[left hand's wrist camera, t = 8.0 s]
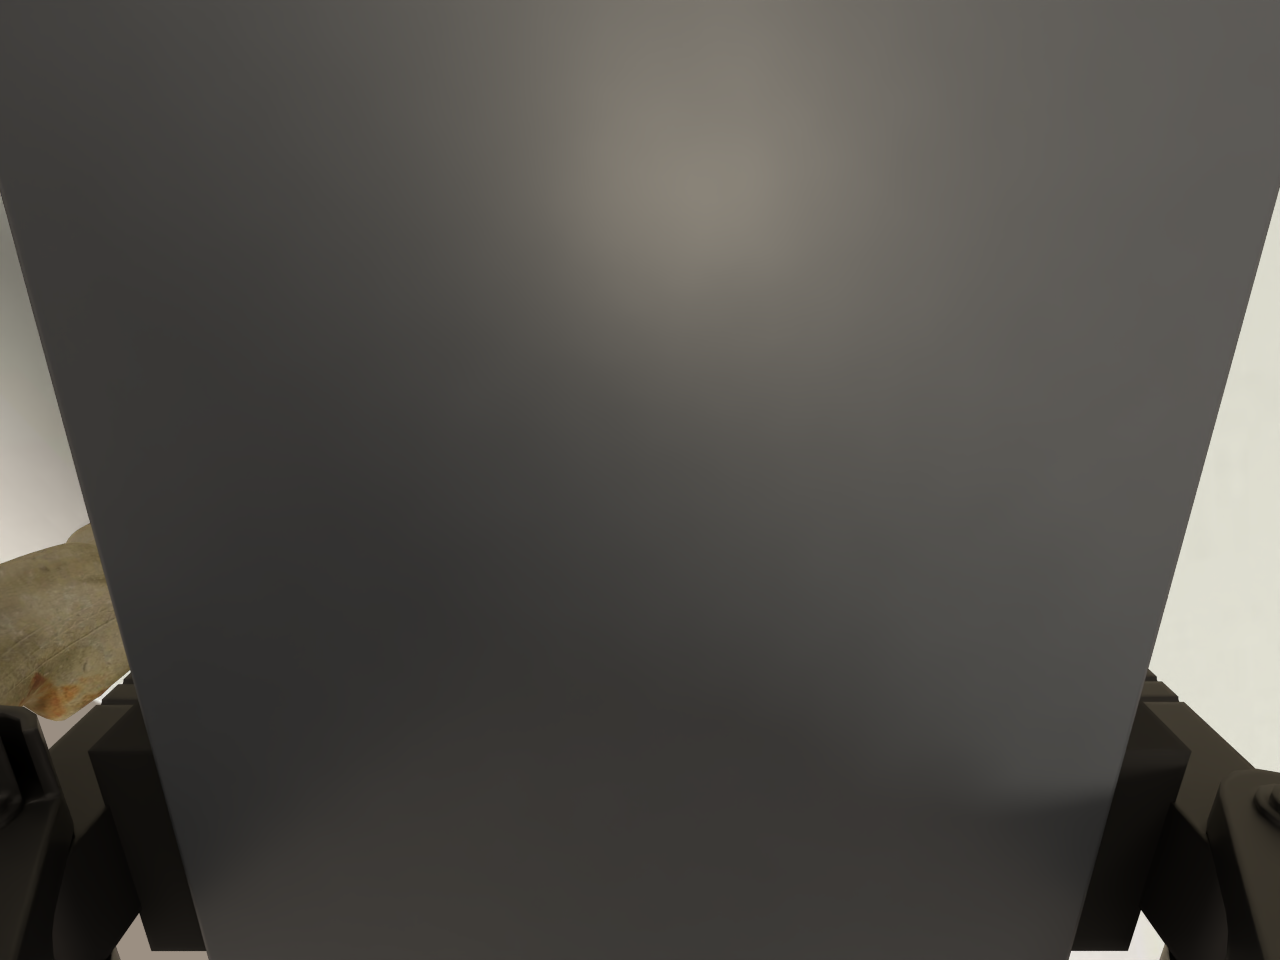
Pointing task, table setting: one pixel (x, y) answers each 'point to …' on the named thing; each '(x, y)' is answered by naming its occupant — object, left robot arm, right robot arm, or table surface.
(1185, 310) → the long gray bar
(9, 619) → the sculpture
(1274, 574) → the table surface
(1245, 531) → the table surface
